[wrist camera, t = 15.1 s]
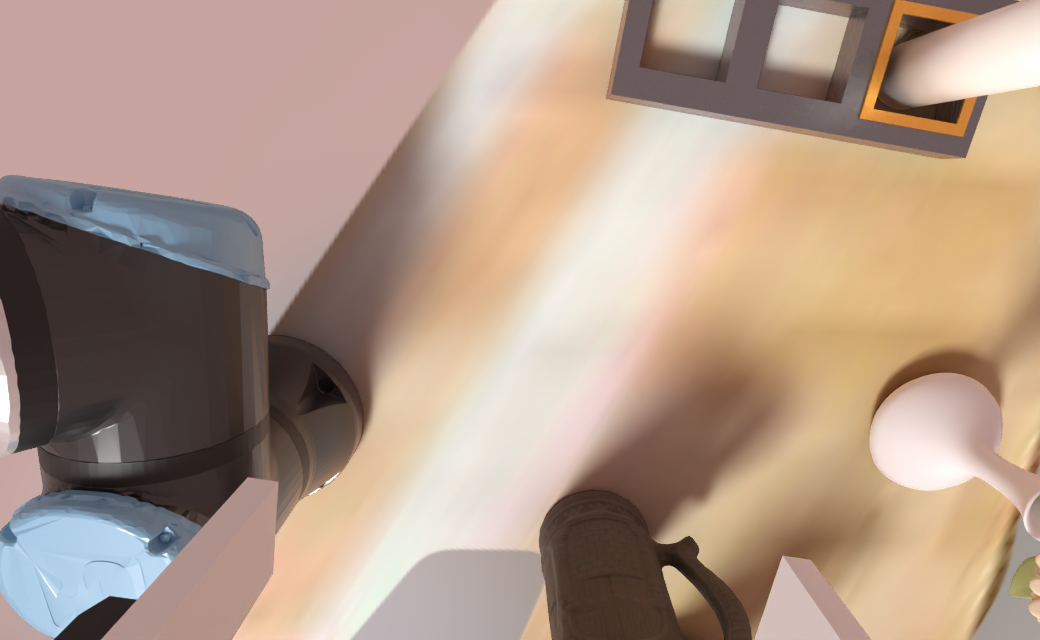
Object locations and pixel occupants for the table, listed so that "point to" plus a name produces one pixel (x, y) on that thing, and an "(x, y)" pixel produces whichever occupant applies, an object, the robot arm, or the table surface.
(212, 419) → the robot arm
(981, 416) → the flower in vase
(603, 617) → the beer stein
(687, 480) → the table surface
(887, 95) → the pin
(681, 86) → the rail
